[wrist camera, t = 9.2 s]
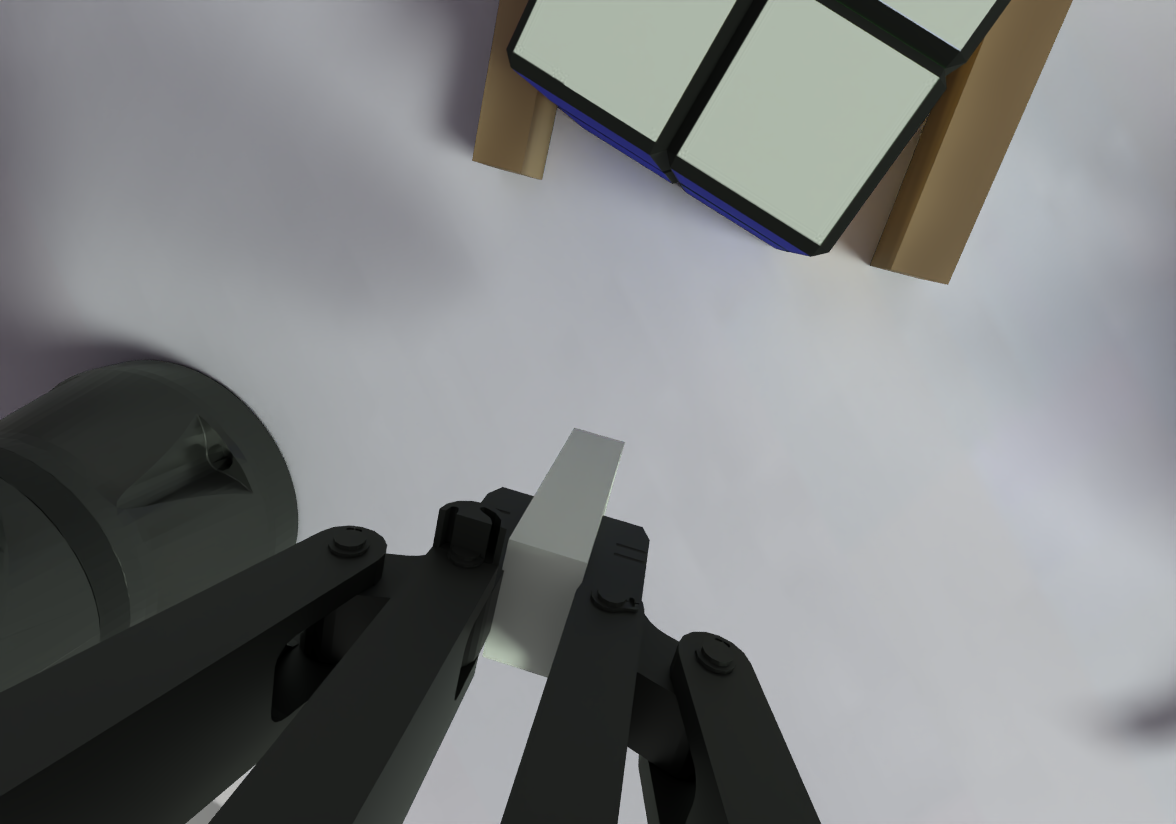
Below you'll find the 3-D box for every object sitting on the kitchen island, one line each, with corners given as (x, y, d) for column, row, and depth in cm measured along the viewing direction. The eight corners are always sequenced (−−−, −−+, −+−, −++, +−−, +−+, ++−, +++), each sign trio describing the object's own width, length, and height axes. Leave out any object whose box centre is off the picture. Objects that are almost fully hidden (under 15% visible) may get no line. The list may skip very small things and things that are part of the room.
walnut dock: (498, 168, 26) (472, 160, 23) (574, -241, 22) (553, -313, 19) (920, 278, 24) (947, 284, 21) (1099, -148, 20) (1165, -212, 17)
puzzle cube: (576, 124, 25) (495, 58, 16) (714, -143, 22) (717, -433, 12) (781, 253, 25) (824, 264, 15) (952, 4, 21) (1141, -176, 12)
